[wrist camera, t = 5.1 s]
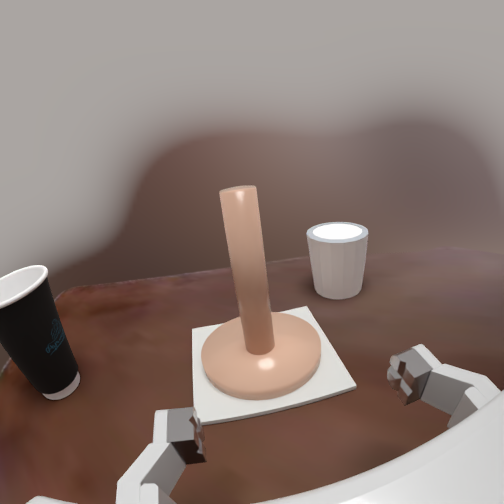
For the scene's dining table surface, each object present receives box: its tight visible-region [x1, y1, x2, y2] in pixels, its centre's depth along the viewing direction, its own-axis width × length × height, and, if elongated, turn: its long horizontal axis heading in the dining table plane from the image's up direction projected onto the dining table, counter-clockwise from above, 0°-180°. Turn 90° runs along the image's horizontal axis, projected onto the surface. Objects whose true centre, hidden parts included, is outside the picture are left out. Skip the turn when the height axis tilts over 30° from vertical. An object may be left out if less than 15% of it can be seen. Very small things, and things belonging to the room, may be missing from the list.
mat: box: [192, 306, 356, 425], centre depth 24 cm, size 12×12×1 cm
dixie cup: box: [0, 265, 80, 400], centre depth 20 cm, size 8×8×11 cm
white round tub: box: [307, 222, 368, 299], centre depth 33 cm, size 7×7×7 cm
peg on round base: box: [201, 186, 321, 400], centre depth 22 cm, size 10×10×14 cm
